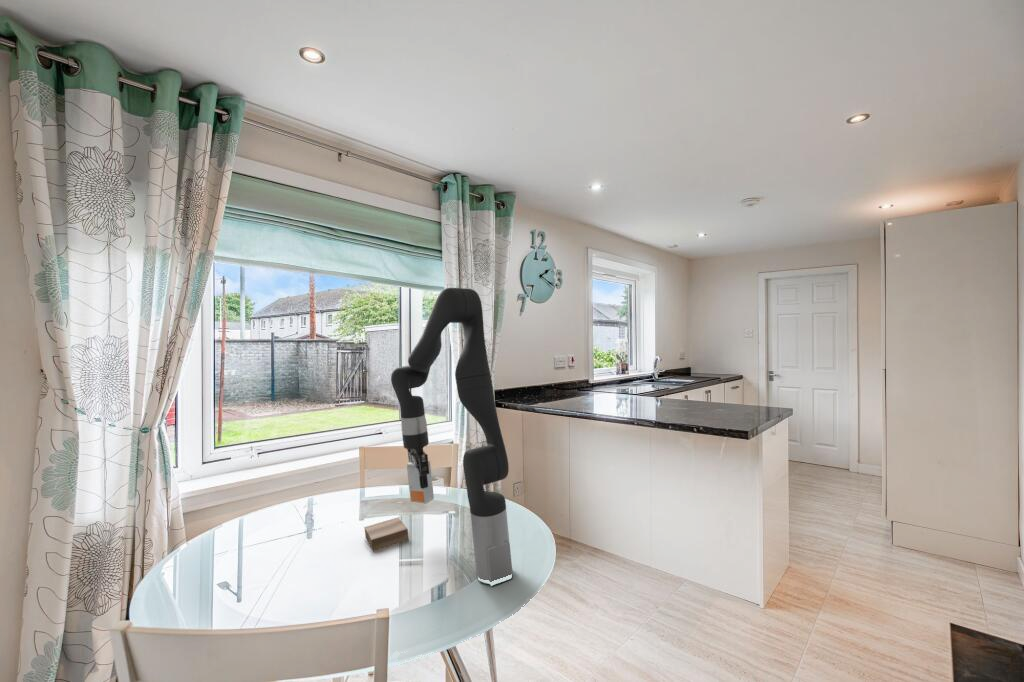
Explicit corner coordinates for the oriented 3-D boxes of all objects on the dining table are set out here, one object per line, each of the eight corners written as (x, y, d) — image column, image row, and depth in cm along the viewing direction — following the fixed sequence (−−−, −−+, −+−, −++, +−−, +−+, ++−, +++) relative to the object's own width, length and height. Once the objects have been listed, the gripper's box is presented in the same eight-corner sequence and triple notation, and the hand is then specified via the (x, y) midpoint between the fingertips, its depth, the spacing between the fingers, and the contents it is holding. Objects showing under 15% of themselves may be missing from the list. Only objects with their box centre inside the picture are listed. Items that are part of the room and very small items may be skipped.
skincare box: (410, 502, 139) (405, 463, 139) (419, 497, 143) (414, 459, 142) (426, 504, 136) (421, 464, 136) (434, 499, 140) (430, 460, 140)
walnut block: (408, 541, 142) (407, 528, 142) (373, 552, 137) (371, 539, 137) (399, 529, 152) (398, 517, 152) (365, 539, 147) (364, 527, 146)
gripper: (433, 432, 134) (439, 487, 135) (420, 425, 147) (425, 475, 147) (408, 437, 131) (414, 494, 131) (396, 429, 143) (402, 481, 144)
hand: (420, 484), depth 139 cm, fingers closed on skincare box, 7 cm apart
